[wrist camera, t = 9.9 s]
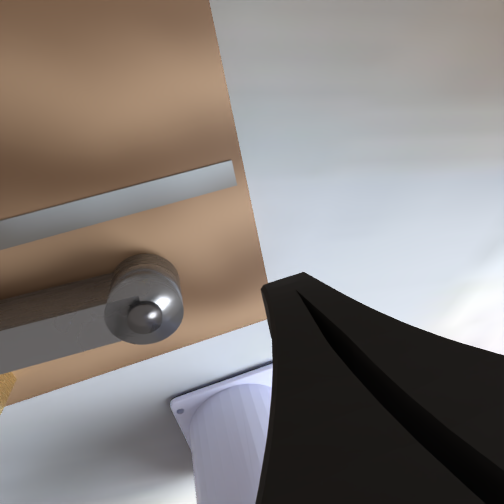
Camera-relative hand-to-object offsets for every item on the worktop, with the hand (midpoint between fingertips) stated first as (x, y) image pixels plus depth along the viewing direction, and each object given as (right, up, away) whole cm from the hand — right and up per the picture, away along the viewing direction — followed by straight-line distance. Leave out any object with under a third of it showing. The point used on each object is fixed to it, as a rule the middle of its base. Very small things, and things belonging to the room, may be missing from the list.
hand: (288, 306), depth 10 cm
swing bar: (-12, -1, +6) cm, 14 cm away
